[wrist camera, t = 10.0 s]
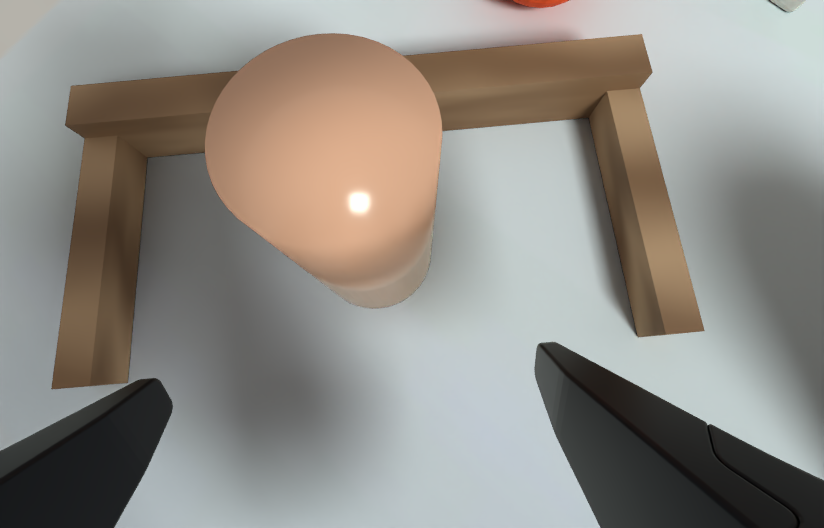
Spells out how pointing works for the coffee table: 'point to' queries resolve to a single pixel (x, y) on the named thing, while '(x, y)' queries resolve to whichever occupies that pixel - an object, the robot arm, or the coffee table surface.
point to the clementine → (540, 3)
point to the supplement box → (789, 4)
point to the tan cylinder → (333, 162)
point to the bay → (460, 109)
